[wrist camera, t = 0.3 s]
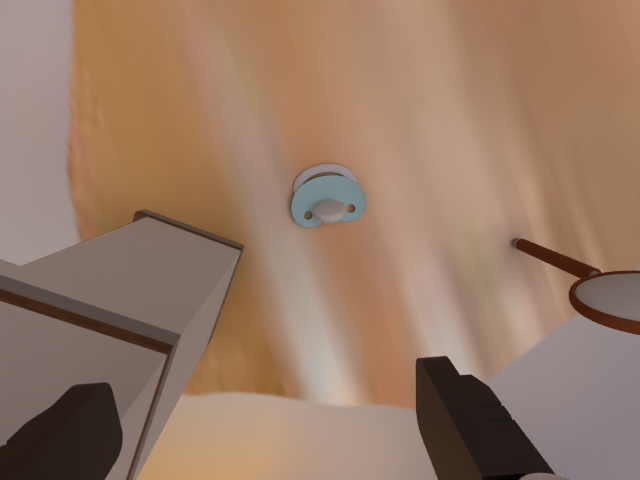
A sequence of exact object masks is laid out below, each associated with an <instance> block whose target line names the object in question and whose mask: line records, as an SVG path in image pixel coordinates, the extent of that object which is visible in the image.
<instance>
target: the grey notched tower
mask: <svg viewBox="0 0 640 480" xmlns="http://www.w3.org/2000/svg"><path fill="white" fill-rule="evenodd" d="M243 248H244V245H241V244H238V243H235V242H233V241H230V240H227V239H225V238H222V237H219V236H216V235H214V234H211V233H208V232H205V231H203V230H200V229H197V228H195V227H192V226H189V225H186V224H184V223H181V222H178V221H175V220H173V219H170V218H167V217H165V216H162V215H159V214H156V213H154V212H151V211H148V210H145V209H144V210H141V211H138V212H135V215H134V219H133V222H132V223H130V224H127V225H125V226H122V227H120V228H117V229H115V230H112V231H110V232H107V233H104V234H102V235H99V236H97V237H94V238H92V239H89V240H87V241H84V242H81V243H79V244H76V245H74V246H71V247H69V248H66V249H64V250H61V251H59V252H56V253H53V254H51V255H48V256H46V257H43V258H41V259H38V260H35V261H33V262H30V263H28V264H25V265H23V266H19V265H15V264H13V263H10V262H7V261H4V260H1V259H0V447H1V446H2V445H6V443H7V440H8V439H9V438H10V437H11V436H13V435H14V434H15V433H16V432H17V431H18V430H19V429H20V428H21V427H22V426H23V425H24V424H25V423H26V422H28V421H29V420H31V419H32V418H34V417H36V416H37V415H39V414H40V413H42V412H43V411H45V410H46V409H48V408H49V407H51V406H52V405H53V404H54V403H55V402H56V401H57V400H58V399H59V398H60V397H61V396H62V395H63V394H64V393H65V392H66V391H67V390H68V389H69V388H70V387H72V386H73V385H76V384H89V383H101V382H106V383H108V384H110V386H111V388H112V390H113V394H114V398H115V403H116V407H117V411H118V415H119V419H120V423H121V427H122V432H123V443H122V448H121V452H120V455H119V457H118V459H117V461H116V462H115V464H114V466H113V467H112V469H111V470H110V472H109V474H108V475H107V477H106V478H105V480H136V479H137V476H138V475H139V473H140V471H141V469H142V467H143V465H144V464H145V462H146V460H147V458H148V456H149V454H150V452H151V450H152V449H153V447H154V445H155V443H156V441H157V439H158V437H159V435H160V434H161V432H162V430H163V428H164V426H165V424H166V422H167V420H168V419H169V417H170V415H171V413H172V411H173V409H174V407H175V405H176V403H177V402H178V400H179V398H180V396H181V394H182V392H183V390H184V389H185V387H186V385H187V383H188V381H189V379H190V377H191V375H192V374H193V372H194V370H195V368H196V366H197V364H198V362H199V360H200V359H201V357H202V355H203V353H204V351H205V349H206V347H207V345H208V344H209V342H210V340H211V338H212V335H213V332H214V329H215V327H216V324H217V321H218V318H219V315H220V313H221V310H222V307H223V304H224V301H225V299H226V296H227V293H228V290H229V287H230V285H231V282H232V279H233V276H234V273H235V271H236V268H237V265H238V262H239V259H240V257H241V254H242V251H243Z"/></svg>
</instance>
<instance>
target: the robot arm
mask: <svg viewBox="0 0 640 480" xmlns="http://www.w3.org/2000/svg"><path fill="white" fill-rule="evenodd" d="M416 414H417V421H418V426H419V430H420V434H421V437H422V439H423V442H424V444H425V447H426V449H427V452H428V455H429V457H430V460H431V462H432V465H433V467H434V470H435V473H436V475H437V478H438V480H568V479H566V478H564V477H560V476H558V475H556V474H555V473H554V472H553V471H552V469H551V468H550V467H549V465H548V464H547V463H546V461H545V460H544V459H543V457H542V456H541V455H540V454H539V452H538V451H537V449H536V448H535V447H534V445H533V444H532V443H531V441H530V440H529V439H528V437H527V436H526V435H525V434H524V432H523V431H522V430H521V428H520V427H519V426H518V424H517V423H516V422H515V420H512V418H511V415H510V414H509V413H508V411H507V410H506V408H505V407H504V406H502V405H501V402H500V401H499V399H498V398H497V397H496V395H495V394H494V393H493V391H492V390H491V389H490V387H489V386H487V385H486V384H484V383H483V382H481V381H480V380H478V379H477V378H475V377H474V376H472V375H460V374H459V373H458V371H457V370H456V369H455V367H454V366H453V364H452V363H451V361H450V360H449V358H448V357H447V356H440V357H427V358H418V359H417V360H416ZM122 443H123V432H122V427H121V423H120V419H119V415H118V411H117V407H116V403H115V398H114V394H113V390H112V388H111V386H110V384H108V383H106V382H101V383H89V384H76V385H73V386H72V387H70V388H69V389H68V390H67V391H66V392H65V393H64V394H63V395H62V396H61V397H60V398H59V399H58V400H57V401H56V402H55V403H54V404H53V405H52V406H51V407H49V408H48V409H46V410H45V411H43V412H42V413H40V414H39V415H37V416H36V417H34V418H32V419H31V420H29V421H28V422H26V423H25V424H24V425H23V426H22V427H21V428H20V429H19V430H18V431H17V432H16V433H15V434H14V435H13V436H11V437H10V438H9V439H8V440H7V443H6V445H2V446H1V447H0V480H105V478H106V477H107V475H108V474H109V472H110V470H111V469H112V467H113V466H114V464H115V462H116V461H117V459H118V457H119V455H120V452H121V448H122Z"/></svg>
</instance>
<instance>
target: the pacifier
mask: <svg viewBox="0 0 640 480" xmlns="http://www.w3.org/2000/svg"><path fill="white" fill-rule="evenodd" d="M322 172H335V173H339V174H341V175H343V176H344V177H343V176H336V175H329V176H322V177H318V178H314V179H312V180H310V181H308V182H306V183H305V184H304V182H305V181H306V180H307V179H308V178H310V177H311V176H313V175H316V174H318V173H322ZM293 192H294V194H295V195H294V197H293V200H292V205H291V211H292V215H293V218H294V220H295V221H296V222H297V223H298V224H299V225H301V226H303V227H307V228H310V227H316V226H319V225H321V224H322V223H327V224H333V223H336V222H338V221H344V222H345V221H353V220H355V219H358V218H359V217H360V216H361V215H362V214H363V213H364V211H365V209H366V203H367V201H366V196H365V193H364V192H363V190H362V188H361V187H360V186H359V185H358V184H357V180H356V177H355V174H354V173H353V172H352V171H351V170H350V169H348V168H347V167H345V166H342V165H339V164H331V163H328V164H320V165H316V166H313V167H310V168H308V169H306V170H305V171H303V172H302V173H301V174H300V175H299V176H298V177H297V178H296V180H295V182H294V185H293ZM349 204H352V205H354V206H355V210H354V212H348V211H347V206H348V205H349ZM307 211H310V212H311V213H312V215H313V216H312V218H311V219H305V217H304V214H305V212H307Z"/></svg>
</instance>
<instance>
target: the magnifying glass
mask: <svg viewBox="0 0 640 480" xmlns="http://www.w3.org/2000/svg"><path fill="white" fill-rule="evenodd" d="M514 245H515V246H516V248H517V249H518V250H520V251H523V252H525V253H527V254H529V255H531V256H533V257H536V258H538V259H540V260H542V261H544V262H546V263H548V264H551V265H553V266H555V267H557V268H559V269H561V270H564V271H566V272H568V273H570V274H572V275H574V276H577V277H579V278H581V279H580V280H578V281H576V282H575V283H574V284H573V285H572V286H571V288H570V290H569V300H570V303H571V305H572V306H573V307H574V309H575V310H576V311H577V312H578V313H580V314H581V315H583V316H584V317H586V318H588V319H590V320H592V321H594V322H596V323H598V324H601V325H604V326H607V327H610V328H613V329H616V330H620V331H624V332H628V333H632V334H637V335H640V271H614V272H605V273H601V271H600V270H599V269H597V268H594V267H592V266H589V265H587V264H584V263H582V262H579V261H577V260H574V259H572V258H569V257H567V256H564V255H562V254H559V253H557V252H554V251H552V250H549V249H547V248H544V247H542V246H540V245H537V244H535V243H532V242H530V241H527V240H525V239H517V240H515V241H514Z"/></svg>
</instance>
